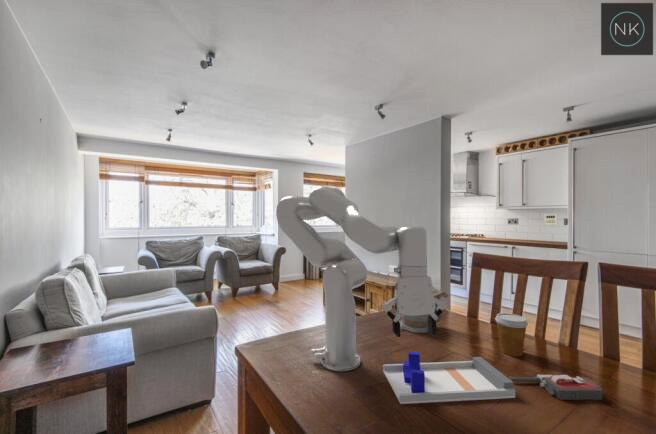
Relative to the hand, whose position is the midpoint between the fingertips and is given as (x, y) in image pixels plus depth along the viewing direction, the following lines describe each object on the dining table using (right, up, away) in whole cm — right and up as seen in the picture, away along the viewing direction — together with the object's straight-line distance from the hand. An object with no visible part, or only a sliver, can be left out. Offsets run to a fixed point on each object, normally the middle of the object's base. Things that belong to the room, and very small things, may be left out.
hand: (414, 334), depth 80 cm
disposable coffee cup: (+39, -14, +20) cm, 46 cm away
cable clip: (0, -14, 0) cm, 14 cm away
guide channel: (+8, -14, +1) cm, 16 cm away
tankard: (+17, -15, +43) cm, 49 cm away
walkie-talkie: (+37, -15, -2) cm, 40 cm away
